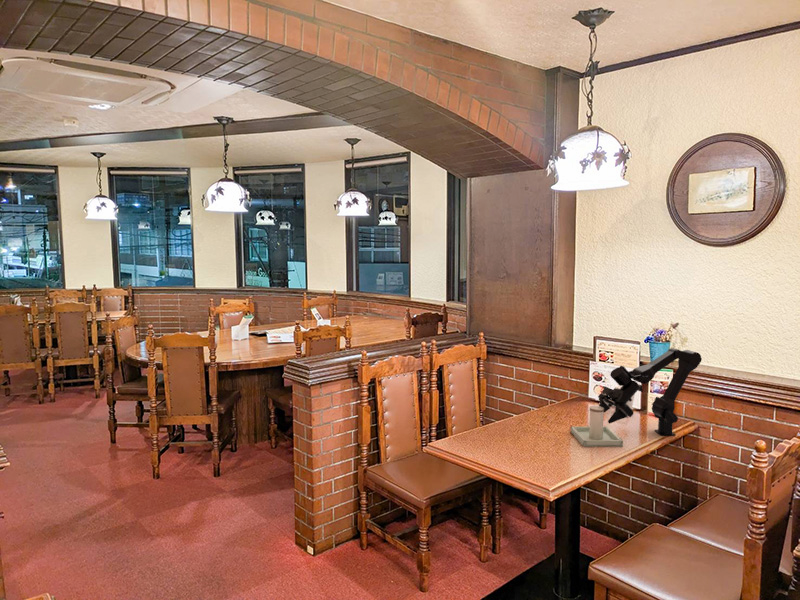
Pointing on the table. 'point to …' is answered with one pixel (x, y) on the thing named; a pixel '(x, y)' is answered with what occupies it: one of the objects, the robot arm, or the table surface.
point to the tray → (583, 437)
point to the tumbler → (596, 422)
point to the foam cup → (628, 401)
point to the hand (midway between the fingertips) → (602, 419)
